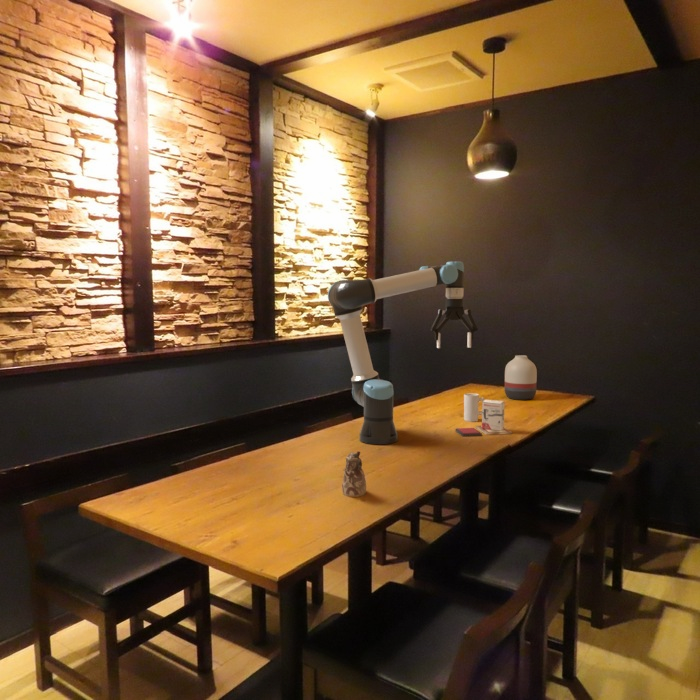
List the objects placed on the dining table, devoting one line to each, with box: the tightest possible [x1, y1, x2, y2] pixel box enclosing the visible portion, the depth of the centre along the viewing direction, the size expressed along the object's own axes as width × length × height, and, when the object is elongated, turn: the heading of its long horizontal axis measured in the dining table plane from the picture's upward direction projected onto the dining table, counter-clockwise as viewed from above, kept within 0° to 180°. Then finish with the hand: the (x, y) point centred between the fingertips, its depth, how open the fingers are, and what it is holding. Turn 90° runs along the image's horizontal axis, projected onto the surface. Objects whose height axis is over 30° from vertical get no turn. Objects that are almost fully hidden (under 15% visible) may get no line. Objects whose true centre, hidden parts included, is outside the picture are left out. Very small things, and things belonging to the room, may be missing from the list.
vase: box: [504, 354, 538, 401], centre depth 329 cm, size 17×17×24 cm
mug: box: [463, 392, 485, 423], centre depth 273 cm, size 10×7×12 cm, turn 76°
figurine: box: [341, 450, 367, 498], centre depth 174 cm, size 7×7×12 cm
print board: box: [475, 425, 513, 436], centre depth 253 cm, size 11×13×1 cm
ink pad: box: [454, 427, 483, 437], centre depth 248 cm, size 8×10×1 cm
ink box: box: [481, 399, 506, 431], centre depth 252 cm, size 9×5×12 cm, turn 62°
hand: (453, 347), depth 256 cm, fingers open, 13 cm apart
